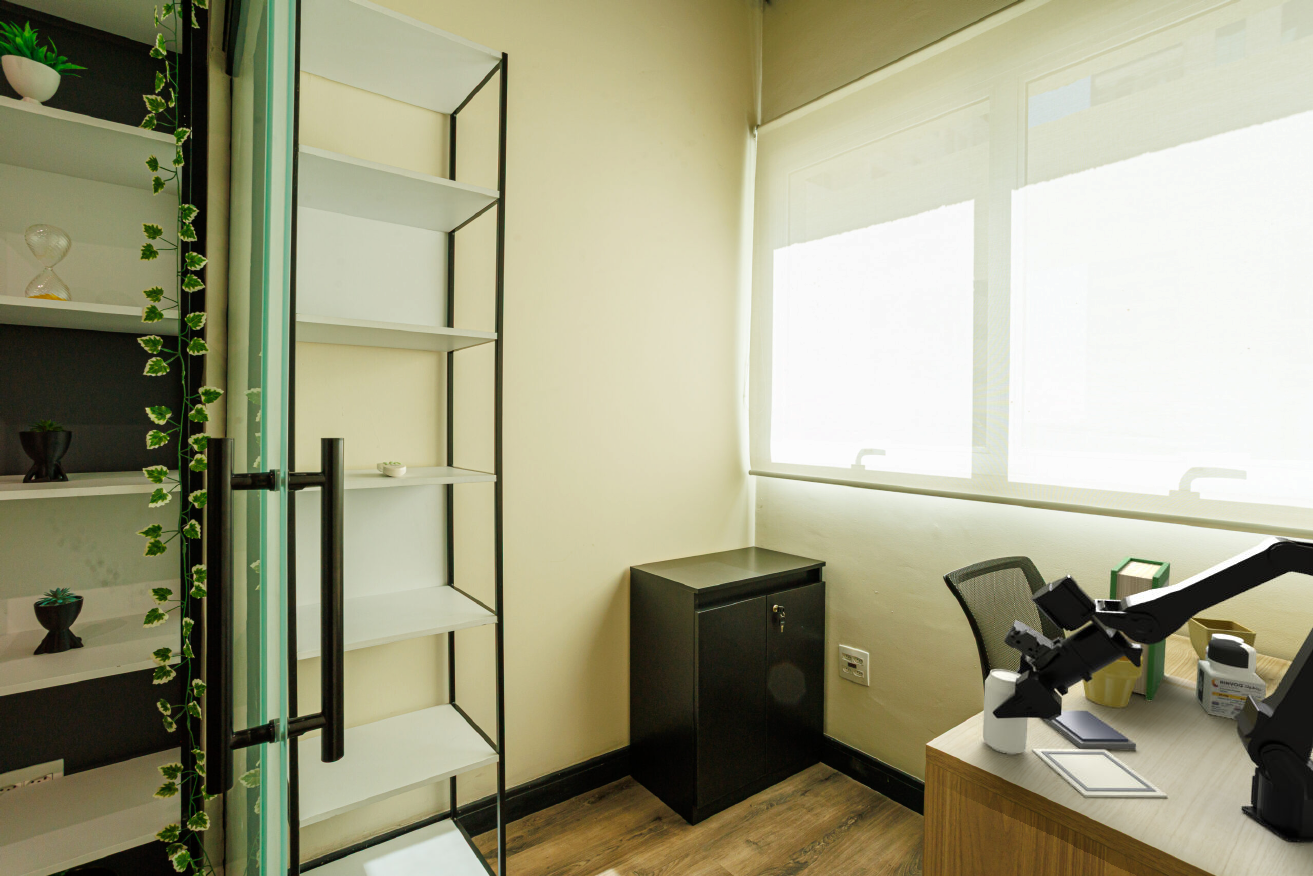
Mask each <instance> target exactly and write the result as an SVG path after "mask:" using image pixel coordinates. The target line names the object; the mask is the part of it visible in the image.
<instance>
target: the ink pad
mask: <svg viewBox="0 0 1313 876" xmlns="http://www.w3.org/2000/svg"><path fill="white" fill-rule="evenodd" d="M1044 720H1045V721H1046V723H1047V724H1048V723H1049V724H1050V726H1051V727H1052V728H1053V727H1054V728H1055V730H1056V729H1057V730H1058V731H1059V732H1058V731H1057V730H1056V731H1057V732H1058V733H1060V732H1061V733H1062V734H1063V735H1062V734H1061V733H1060V734H1061V735H1062V736H1064V737H1065V736H1066V737H1065V738H1066V739H1068V740H1069V741H1070V742H1071V743H1072V744H1073V745H1075V746H1076V747H1078V749H1105V750H1106V749H1116V750H1118V749H1132V750H1131V751H1135V750H1134V749H1137V744H1136V743H1135V742H1134V741H1133V740H1131V739H1130V738H1128V737H1127V736H1126V735H1124V734H1122V733H1120V732H1119V731H1118V730H1117V729H1115V728H1114V727H1113V726H1110V725H1109V724H1107V722H1105V721H1103V720H1102V719H1100V718H1098V717H1097V716H1096V715H1094V714H1093V713H1092V712H1089V711H1088V710H1062V711H1061V716H1059V717H1057V718H1055V719H1053V720H1052V721H1049V720H1047V719H1044ZM1044 720H1043V721H1044ZM1045 721H1044V722H1045ZM1049 724H1048V725H1049ZM1116 750H1115V751H1116ZM1118 751H1119V750H1118Z"/></svg>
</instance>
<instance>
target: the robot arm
mask: <svg viewBox="0 0 1313 876" xmlns="http://www.w3.org/2000/svg"><path fill="white" fill-rule="evenodd" d="M1287 573H1297V574H1301V575H1305V576H1306V575H1307V576H1310V577H1313V542H1309V541H1300V540H1299V541H1298V540H1293V539H1292V540H1291V539H1289V538H1285V537H1280V536H1272V537H1270V538H1269V537H1268V538H1266V539H1265V540H1263V541H1262V542H1261V543H1259V544H1258V545H1256V546H1254V547H1253V548H1250V549H1248V550H1246V551H1243V552H1242V553H1239V554H1238V555H1235V556H1234V557H1231V558H1229V559H1227V560H1225V561H1223V562H1221V563H1219V564H1216V565H1215V566H1213V567H1210V568H1208V569H1206V570H1204V571H1202V572H1200V573H1198V574H1196V575H1193V576H1191V577H1189V578H1187V579H1185V580H1182V581H1181V582H1178V583H1177V584H1173V585H1169V587H1165V588H1159V589H1153V590H1148V591H1145V592H1141V593H1138V594H1135V595H1131V596H1128V597H1125V598H1124V599H1123V600H1109V599H1095V598H1094V599H1093V598H1091V596H1089V594H1088V593H1087V592H1086V591H1085V590H1083V589H1082V587H1081V586H1080V585H1079V583H1078V582H1077V580H1076V579H1074V578H1073V576H1072V575H1070V574H1066V575H1065V576H1064V577H1062V578H1059V579H1057V580H1054V581H1053V582H1048V583H1047V584H1045V585H1044V586H1042V587H1041V588H1040V589H1038V590H1037V591H1036V592H1035V593H1033V595H1031V597H1030V600H1031V601H1032V602H1033V604H1034V605H1035V606H1036V607H1038V609H1039V610H1040V611H1041V612H1042V613H1043V614H1044V615H1045V616H1046V617H1047V618H1048V619H1049V621H1051V622H1052V623H1053V625H1054V626H1055V627H1056V628H1057V630H1063V629H1064V630H1065V631H1066V632H1074V633H1073V634H1070V635H1069V636H1068V637H1066V638H1065V639H1064V637H1062V636H1061V637H1059V636H1058V637H1055V638H1054V639H1053V640H1051V639H1049V638H1048V637H1046V636H1045V635H1043V634H1042V633H1041V632H1039V631H1037V630H1035V629H1033V628H1032V627H1030V626H1029V625H1027V624H1025V623H1024V622H1021V621H1020V620H1013V621H1014V622H1013V623H1012V625H1011V626H1010V627H1009V630H1008V631H1007V632H1006V633H1005V635H1004V636H1005V637H1004V638H1003V642H1004V643H1005V644H1006V646H1008V647H1010V648H1011V649H1015V650H1017V651H1019V652H1021V653H1020V658H1019V659H1020V660H1019V666H1018V668H1017V669H1016V670H1015V671H1014V672H1016V673H1018V674H1020V675H1021V676H1020V677H1019V678H1016V682H1015V692H1014V693H1012V694H1011V695H1010V696H1009V697H1008V698H1007V699H1006V700H1005V701H1003V702H1002V703H1001V704H1000V705H999V706H998V707H997V708H996V709H995V710H994V711H993V715H994V716H995V717H996V718H998V719H1000V718H1028V719H1030V718H1031V719H1042V720H1043V719H1047V720H1049V721H1052V720H1053V719H1055V718H1057V717H1059V716H1061V711H1062V709H1063V696H1066V695H1067V694H1069V688H1071V687H1072V686H1074V685H1077V684H1078V683H1079V682H1081V681H1083V679H1084V680H1085V681H1086V682H1088V681H1090V680H1092V674H1094V673H1095V672H1097V671H1099V670H1101V669H1102V668H1104V667H1106V666H1108V665H1109V664H1111V663H1113V662H1115V661H1116V660H1118V659H1120V658H1122V657H1123V656H1126V657H1127V658H1128V659H1129V660H1130V661H1131V662H1132V663H1133V664H1134V665H1135V666H1136V667H1141V654H1142V652H1143V648H1142V646H1141V645H1140V644H1134V643H1131V642H1129V641H1128V640H1127V639H1126V638H1125V637H1124V636H1123V634H1122V633H1121V632H1123V633H1124V634H1125V635H1126V636H1127V637H1128V638H1129V639H1131V640H1133V641H1135V642H1138V643H1142V644H1145V645H1152V644H1156V643H1159V642H1161V641H1163V640H1164V639H1166V640H1167V638H1168V637H1170V636H1171V635H1173V634H1174V633H1176V632H1178V631H1179V630H1180V629H1181V628H1182V627H1184V626H1185V625H1186V624H1187V623H1188V621H1189V620H1190V619H1191V618H1192V617H1196V615H1198V614H1199V613H1201V612H1203V611H1206V610H1207V609H1210V608H1212V607H1214V606H1217V605H1218V604H1221V603H1224V602H1226V601H1228V600H1229V599H1232V598H1234V597H1236V596H1239V595H1241V594H1243V593H1246V592H1247V591H1248V592H1249V591H1250V590H1252V589H1254V588H1256V587H1259V586H1260V585H1263V584H1265V583H1267V582H1270V581H1273V580H1274V579H1276V578H1278V577H1281V576H1283V575H1285V574H1287ZM1089 622H1090V623H1089ZM1086 624H1087V625H1086ZM1083 626H1084V627H1083ZM1108 627H1109V628H1108ZM1080 628H1081V629H1080ZM1078 629H1079V630H1078ZM1076 630H1077V631H1076ZM1075 631H1076V632H1075ZM1120 631H1121V632H1120ZM1234 718H1235V719H1234V720H1235V722H1236V724H1237V726H1236V732H1237V736H1238V737H1239V739H1240V742H1241V743H1242V746H1243V748H1244V749H1245V751H1246V753H1247V754H1248V757H1249V758H1250V760H1251V761H1252V763H1254V765H1256V766H1255V767H1254V775H1252V777H1251V789H1250V791H1251V793H1250V805H1242V806H1241V808H1240V809H1241V811H1242V812H1243V813H1245V814H1246V815H1248V816H1249V817H1251V818H1252V819H1254V820H1255V821H1257V822H1258V823H1259V824H1262V825H1263V826H1264V827H1266V828H1267V829H1269V830H1270V831H1272V832H1274V833H1275V834H1276V835H1278V836H1279V837H1281V838H1282V839H1284V840H1286V841H1288V842H1301V843H1303V842H1308V843H1310V842H1313V760H1312V758H1311V755H1312V753H1313V627H1311V629H1310V631H1309V633H1308V634H1307V636H1306V638H1305V640H1304V642H1303V643H1302V644H1301V647H1300V648H1299V650H1298V651H1297V653H1296V655H1295V657H1294V658H1293V660H1292V661H1291V663H1290V665H1289V666H1288V668H1287V670H1286V672H1285V673H1284V675H1283V676H1282V678H1281V680H1280V682H1279V683H1278V685H1277V686H1276V688H1275V690H1274V692H1272V693H1271V694H1270V695H1268V696H1267V697H1265V699H1263V700H1262V701H1259V700H1257V699H1255V698H1254V697H1252V696H1250V695H1248V696H1247V698H1246V701H1245V704H1244V707H1243V709H1242V711H1241V712H1240V713H1239V714H1237V715H1235V716H1234Z"/></svg>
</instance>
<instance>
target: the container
mask: <svg viewBox="0 0 1313 876" xmlns="http://www.w3.org/2000/svg"><path fill="white" fill-rule="evenodd" d="M1256 668H1257V650H1256V649H1255V648H1254V646H1253V647H1251V646H1249V645H1247V644H1245V643H1242V642H1238V641H1234V640H1229V639H1213V640H1210V641H1209V642H1208V659H1207V661H1203V660H1202V659H1201V660H1200V659H1199V660H1197V672H1196V686H1195V687H1196V688H1195V689H1196V691H1195V698H1196V700H1197V701H1198V702H1199V704H1200V705H1201V706H1202V708H1203V709H1204V710H1205V712H1206V713H1207V714H1208V713H1209V714H1212V715H1211V716H1214V715H1218V716H1217V717H1219V716H1223V717H1222V718H1224V717H1227V718H1226V719H1230V718H1233V719H1232V720H1235V718H1234V716H1235V715H1237V714H1239V713H1240V712H1241V711H1242V709H1243V707H1244V704H1245V701H1246V698H1247V696H1248V695H1250V696H1252V697H1254V698H1255V699H1257V700H1259V701H1262V700H1263V699H1265V698H1266V694H1267V693H1266V692H1267V683H1266V682H1265V681H1264V680H1263V679H1262V678H1261V677H1259V675H1258V674H1257V673H1255V672H1256ZM1209 714H1208V715H1209Z"/></svg>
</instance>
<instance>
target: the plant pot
mask: <svg viewBox="0 0 1313 876" xmlns="http://www.w3.org/2000/svg"><path fill="white" fill-rule="evenodd" d="M1142 670H1143V657H1142V655H1141V667H1136V666H1135V665H1134V664H1133V663H1132V662H1131V661H1130V660H1129V659H1128V658H1127V657H1126V656H1123V657H1122V658H1120V659H1118V660H1116V661H1115V662H1113V663H1111V664H1109V665H1108V666H1106V667H1104V668H1102V669H1101V670H1099V671H1097V672H1095V673H1094V674H1092V680H1090V681H1088V682H1086V681H1085V680H1084V679H1083V680H1082V684H1083V690H1084V695H1085V697H1086V699H1088V700H1090V701H1091V702H1093V703H1095V704H1098V705H1100V706H1103V707H1104V706H1105V707H1109V708H1114V707H1116V708H1115V709H1121V708H1126V707H1127V706H1128V704H1129V701H1130V698H1131V696H1132V693H1133V691H1132V690H1133V688H1134V685H1135V682H1136V680H1137V678H1138V677H1140V676H1141V675H1142Z"/></svg>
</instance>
